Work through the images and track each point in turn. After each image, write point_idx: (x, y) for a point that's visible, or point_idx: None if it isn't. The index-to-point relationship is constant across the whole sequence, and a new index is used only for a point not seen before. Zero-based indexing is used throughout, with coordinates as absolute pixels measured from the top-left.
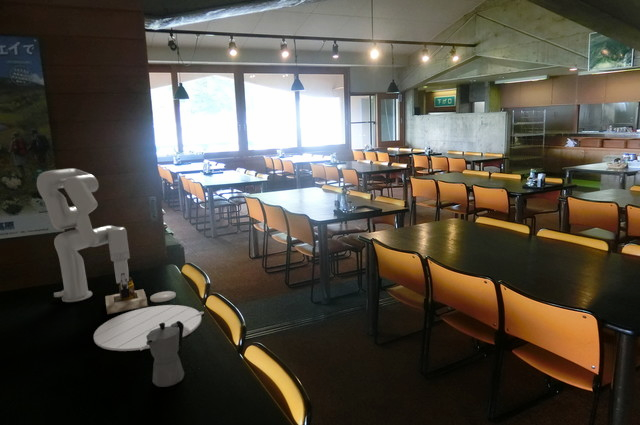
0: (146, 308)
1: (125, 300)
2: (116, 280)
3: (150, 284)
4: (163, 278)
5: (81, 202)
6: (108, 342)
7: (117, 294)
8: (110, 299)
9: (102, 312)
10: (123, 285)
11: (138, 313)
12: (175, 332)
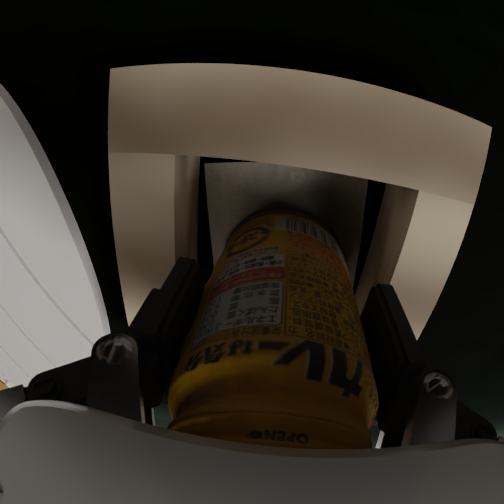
0: (90, 323)
1: (214, 266)
2: (34, 463)
3: (493, 392)
4: (492, 423)
5: None
6: None
7: (448, 242)
8: (342, 134)
9: (229, 34)
10: (8, 393)
11: (35, 270)
12: None
